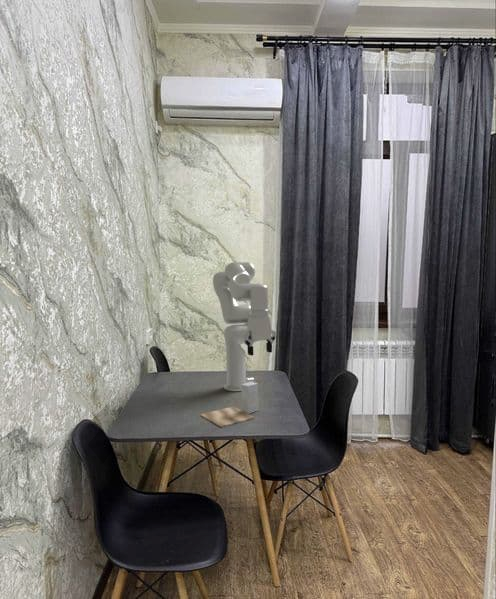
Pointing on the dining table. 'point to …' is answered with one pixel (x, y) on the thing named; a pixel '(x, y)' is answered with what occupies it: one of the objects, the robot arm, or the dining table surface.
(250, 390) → the skincare box
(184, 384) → the dining table surface
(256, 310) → the robot arm
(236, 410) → the wooden board
